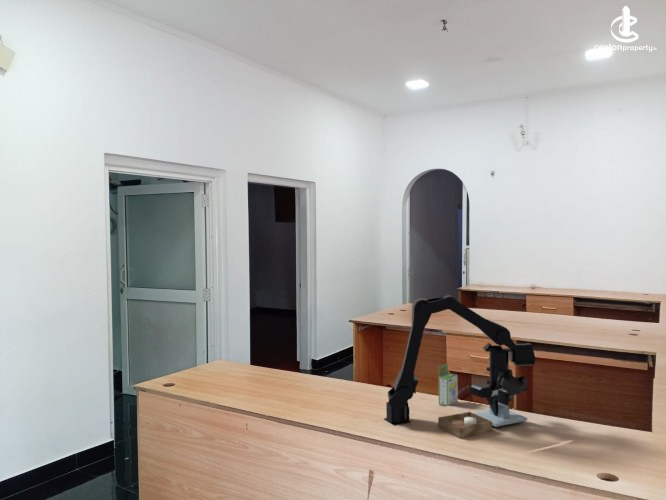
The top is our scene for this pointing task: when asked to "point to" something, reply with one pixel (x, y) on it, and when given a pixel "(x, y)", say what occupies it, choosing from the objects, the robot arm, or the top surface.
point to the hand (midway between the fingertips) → (499, 414)
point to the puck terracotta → (458, 423)
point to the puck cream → (469, 421)
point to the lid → (502, 416)
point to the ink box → (447, 387)
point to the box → (464, 431)
